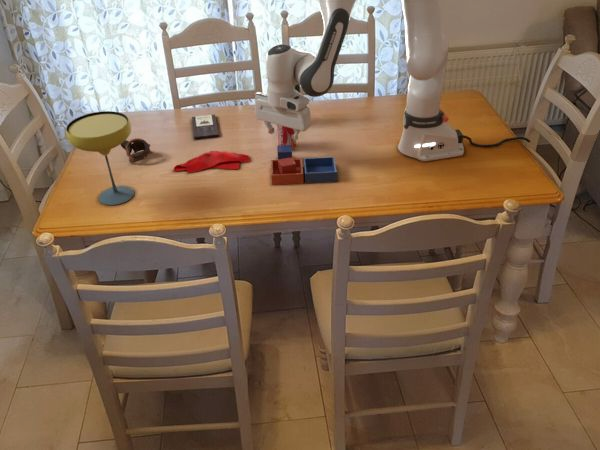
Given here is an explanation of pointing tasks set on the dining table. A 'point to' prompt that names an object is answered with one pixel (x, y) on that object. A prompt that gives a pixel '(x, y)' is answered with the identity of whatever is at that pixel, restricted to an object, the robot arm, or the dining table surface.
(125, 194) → the cocktail glass
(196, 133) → the chocolate bar
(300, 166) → the terracotta bin
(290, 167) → the red block
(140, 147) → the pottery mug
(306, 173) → the blue bin
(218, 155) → the cloth
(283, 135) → the beverage can
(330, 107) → the dining table surface
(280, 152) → the blue block
